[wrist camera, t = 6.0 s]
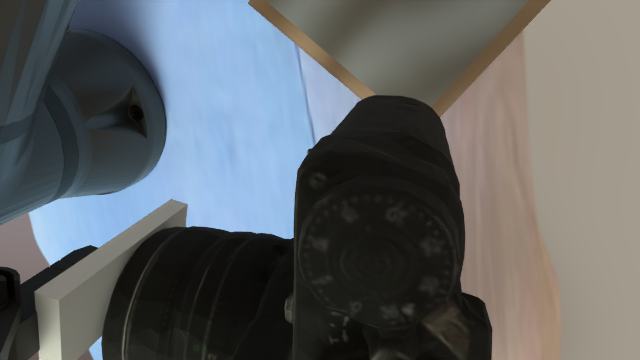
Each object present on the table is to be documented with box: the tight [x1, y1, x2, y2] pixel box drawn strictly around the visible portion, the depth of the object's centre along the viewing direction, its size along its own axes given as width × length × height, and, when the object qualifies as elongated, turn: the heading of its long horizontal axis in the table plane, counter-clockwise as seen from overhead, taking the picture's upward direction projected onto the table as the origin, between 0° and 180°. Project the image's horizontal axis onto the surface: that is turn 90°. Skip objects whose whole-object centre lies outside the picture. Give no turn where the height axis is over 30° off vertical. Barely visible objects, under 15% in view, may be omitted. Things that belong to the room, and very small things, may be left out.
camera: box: [101, 95, 492, 360], centre depth 12 cm, size 14×11×10 cm
